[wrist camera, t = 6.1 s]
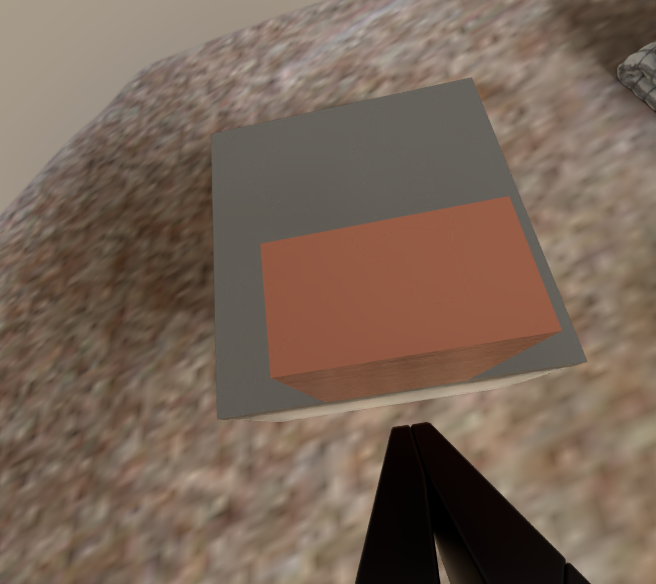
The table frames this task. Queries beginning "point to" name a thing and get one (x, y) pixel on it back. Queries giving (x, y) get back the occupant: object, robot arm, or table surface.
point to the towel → (641, 74)
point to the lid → (375, 256)
